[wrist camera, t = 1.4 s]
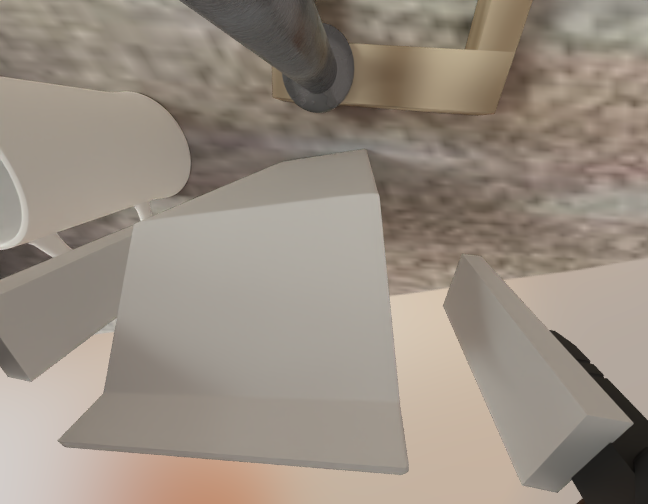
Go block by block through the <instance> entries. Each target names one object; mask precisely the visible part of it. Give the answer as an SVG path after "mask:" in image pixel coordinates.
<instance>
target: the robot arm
mask: <svg viewBox="0 0 648 504" xmlns="http://www.w3.org/2000/svg"><path fill="white" fill-rule="evenodd" d="M133 227H134V225H132V226H129V227H127V228H124V229H122V230H119V231H117V232H115V233H112V234H110V235H107V236H105V237H102V238H100V239H98V240H95V241H93V242H90V243H88V244H85V245H83V246H81V247H78V248H76V249H73V250H71V251H68V252H66V253H64V254H61V255H59V256H56V257H54V258H51V259H49V260H47V261H44V262H42V263H39V264H37V265H34V266H32V267H30V268H27V269H25V270H22V271H20V272H17V273H15V274H13V275H10V276H8V277H5V278H3V279H0V367H1V368H2V369H3V371H4V372H5V373H6V375H7V376H8V377H11V378H16V379H21V380H25V381H30V382H32V381H33V380H34V379H36V378H37V377H38V376H39V375H41V374H42V373H44V372H45V371H46V370H47V369H49V368H50V367H52V366H53V365H54V364H55V363H57V362H58V361H60V360H61V359H62V358H63V357H65V356H66V355H67V354H69V353H70V352H71V351H73V350H74V349H75V348H77V347H78V346H79V345H81V344H82V343H83V342H85V341H86V340H87V339H89V338H90V337H91V336H93V335H94V334H95V333H97V332H98V331H99V330H101V329H102V328H103V327H104V326H106V325H107V324H108V323H110V322H111V321H112V320H114V319H115V318H116V317H117V315H118V310H119V304H120V299H121V293H122V287H123V282H124V276H125V271H126V265H127V260H128V254H129V248H130V243H131V237H132V232H133ZM443 307H444V309H445V311H446V314H447V316H448V318H449V321H450V323H451V325H452V327H453V329H454V332H455V334H456V336H457V339H458V341H459V343H460V345H461V348H462V350H463V352H464V355H465V357H466V359H467V361H468V364H469V366H470V368H471V370H472V373H473V375H474V377H475V380H476V382H477V384H478V386H479V389H480V391H481V393H482V395H483V397H484V400H485V402H486V404H487V407H488V409H489V411H490V414H491V416H492V418H493V421H494V423H495V425H496V427H497V430H498V432H499V434H500V436H501V439H502V441H503V443H504V445H505V448H506V450H507V452H508V455H509V457H510V459H511V461H512V464H513V466H514V468H515V470H516V473H517V475H518V477H519V480H520V482H521V484H522V485H524V486H528V487H533V488H538V489H542V490H547V491H551V492H557V493H558V492H559V491H560V490H561V489H562V488H563V487H564V486H566V485H567V484H568V483H569V482H570V481H571V480H572V481H573V482H574V484H575V485H576V487H577V489H578V491H579V492H580V494H581V496H582V498H583V499H582V500H580V501H579V502H578V503H577V504H648V420H647V419H646V418H645V417H644V416H643V415H642V414H641V413H640V412H639V411H638V410H637V409H636V408H635V407H634V406H633V405H632V404H631V403H630V402H629V400H628V399H627V398H626V397H624V395H623V394H622V393H621V392H620V391H619V390H618V389H617V388H616V387H615V386H614V385H613V384H612V383H611V382H610V381H609V380H608V379H607V378H604V377H603V376H604V375H603V374H602V373H601V372H600V371H599V370H598V369H597V367H596V366H594V364H590V360H589V359H588V358H587V357H586V356H585V355H584V354H583V353H582V352H581V351H580V350H579V349H578V348H577V347H576V346H575V345H574V344H572V343H571V342H570V341H568V340H567V339H565V338H564V337H563V336H561V335H560V334H558V333H557V332H555V331H552V330H548V329H547V328H546V326H545V325H544V324H543V323H542V322H541V321H540V320H539V319H538V318H537V317H536V316H535V314H533V312H532V311H531V310H530V309H529V308H528V307H527V306H526V305H525V304H524V302H523V301H522V300H521V299H520V298H519V297H518V296H517V295H516V294H515V293H514V291H513V290H512V289H511V288H510V287H509V286H508V285H507V284H506V283H505V282H504V281H503V279H502V278H501V277H500V276H499V275H498V274H497V273H496V272H495V271H494V270H493V268H492V267H491V266H490V265H489V264H488V263H487V262H486V261H485V260H484V259H483V258H482V256H477V255H469V254H462V255H461V258H460V260H459V263H458V266H457V269H456V271H455V274H454V277H453V280H452V282H451V285H450V288H449V290H448V293H447V296H446V299H445V302H444V304H443Z"/></svg>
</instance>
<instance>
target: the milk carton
mask: <svg viewBox="0 0 648 504" xmlns="http://www.w3.org/2000/svg"><path fill="white" fill-rule="evenodd" d="M390 308H391V307H390V297H389V287H388V277H387V267H386V257H385V246H384V236H383V226H382V216H381V206H380V196H379V194H378V191H377V187H376V183H375V179H374V176H373V172H372V168H371V164H370V161H369V157H368V153H367V150H366V149H360V150H353V151H347V152H340V153H334V154H328V155H321V156H315V157H309V158H302V159H296V160H290V161H284V162H280V163H278V164H275V165H273V166H271V167H268V168H266V169H263V170H261V171H259V172H256V173H254V174H252V175H249V176H247V177H244V178H242V179H240V180H237V181H235V182H232V183H230V184H228V185H225V186H223V187H221V188H218V189H216V190H213V191H211V192H209V193H206V194H204V195H201V196H199V197H197V198H194V199H192V200H190V201H187V202H185V203H182V204H180V205H178V206H175V207H173V208H171V209H168V210H166V211H163V212H161V213H159V214H156V215H154V216H151V217H149V218H147V219H144V220H142V221H140V222H137V223H135V224H134V227H133V232H132V237H131V243H130V248H129V254H128V260H127V265H126V271H125V276H124V282H123V287H122V293H121V299H120V304H119V310H118V315H117V321H116V326H115V332H114V337H113V344H112V349H111V354H110V360H109V365H108V371H107V377H106V382H105V388H104V392H103V394H102V396H100V397H99V399H98V400H97V401H96V402H95V403H94V404H93V405H92V406H91V407H90V408H89V409H88V410H87V411H86V412H85V413H84V414H83V415H82V416H81V417H80V418H79V419H78V420H77V421H76V422H75V423H74V424H73V425H72V426H71V427H70V428H69V430H67V431H66V432H65V433H64V434H63V436H62V437H61V438H60V439H59V440H58V442H60V443H61V444H62V445H63V446H65V447H69V448H82V449H93V450H106V451H117V452H129V453H142V454H154V455H166V456H178V457H191V458H202V459H215V460H226V461H239V462H251V463H263V464H275V465H288V466H299V467H312V468H324V469H336V470H348V471H361V472H373V473H384V474H397V475H402V474H405V473H407V472H408V457H407V450H406V444H405V436H404V429H403V422H402V416H401V408H400V400H399V390H398V379H397V369H396V360H395V359H396V358H395V348H394V338H393V328H392V318H391V309H390Z"/></svg>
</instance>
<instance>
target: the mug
mask: <svg viewBox="0 0 648 504" xmlns="http://www.w3.org/2000/svg"><path fill="white" fill-rule="evenodd" d="M190 169H191V157H190V151H189V147H188V143H187V141H186V138H185V136H184V134H183V132H182V130H181V128H180V126H179V125H178V123H177V122H176V120H175V119H174V118H173V117H172V115H171V114H170V113H169V112H168V111H167V110H166V109H165V108H164V107H162V106H161V105H160V104H159V103H157V102H156V101H154V100H153V99H151V98H149V97H147V96H145V95H142V94H140V93H136V92H130V91H120V92H106V91H99V90H92V89H85V88H78V87H71V86H64V85H57V84H50V83H43V82H36V81H29V80H22V79H15V78H8V77H1V76H0V250H5V249H9V248H13V247H16V246H19V245H22V244H25V243H28V244H31V245H34V246H35V247H37V248H39V249H40V250H42V251H43V252H45V253H46V254H48V255H50V256H52V257H53V258H54V257H56V256H59V255H61V254H64V253H66V252H68V251H71V250H73V249H72V248H70V247H69V246H68V245H67V244H66V243H65V242H64V241H63V240H62V239H61V238H60V236H59V235H58V233H57V232H60V231H63V230H66V229H69V228H72V227H74V226H77V225H80V224H83V223H86V222H89V221H92V220H95V219H98V218H101V217H104V216H107V215H110V214H112V213H115V212H118V211H121V210H124V209H127V208H130V207H133V206H134V208H135V209H136V211H137V212H138V214H139V217H140V221H142V220H144V219H147V218H149V217H151V216H152V211H151V207H150V201H151V200H154V199H164V198H168V197H171V196H173V195H175V194H177V193H178V192H179V191H180V190H181V189H182V188H183V187H184V186H185V184H186V182H187V180H188V178H189V175H190Z"/></svg>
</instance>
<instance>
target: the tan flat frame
mask: <svg viewBox="0 0 648 504" xmlns="http://www.w3.org/2000/svg"><path fill="white" fill-rule="evenodd" d="M532 1H533V0H478V2H477V5H476V9H475V13H474V17H473V21H472V25H471V28H470V32H469V36H468V40H467V44H466V47H465V49H447V48H428V47H409V46H391V45H372V44H353V43H349V45H350V48H351V50H352V54H353V59H354V78H353V83H352V86H351V89H350V91H349V93H348V95H347V96H346V98H345V99H344V101H343V102H342V103H341V104H340V105H344V106H357V107H371V108H384V109H397V110H411V111H424V112H438V113H451V114H464V115H487V114H495V111H496V108H497V105H498V102H499V99H500V96H501V93H502V90H503V87H504V84H505V81H506V78H507V75H508V73H509V70H510V67H511V64H512V61H513V58H514V55H515V52H516V49H517V46H518V43H519V40H520V37H521V34H522V31H523V28H524V25H525V22H526V19H527V16H528V13H529V10H530V7H531V4H532ZM272 97H273V98H276V99H279V100H282V101H290V102H294V101H293V100H292V99H291V97H290V96H289V94H288V92H287V90H286V88H285V85H284V82H283V78H282V72H280V71H279V70H277V69H276V68H275V67H273V66H272Z"/></svg>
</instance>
